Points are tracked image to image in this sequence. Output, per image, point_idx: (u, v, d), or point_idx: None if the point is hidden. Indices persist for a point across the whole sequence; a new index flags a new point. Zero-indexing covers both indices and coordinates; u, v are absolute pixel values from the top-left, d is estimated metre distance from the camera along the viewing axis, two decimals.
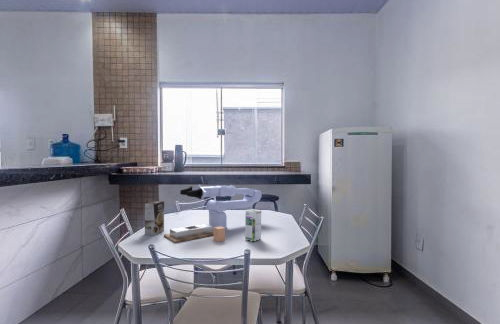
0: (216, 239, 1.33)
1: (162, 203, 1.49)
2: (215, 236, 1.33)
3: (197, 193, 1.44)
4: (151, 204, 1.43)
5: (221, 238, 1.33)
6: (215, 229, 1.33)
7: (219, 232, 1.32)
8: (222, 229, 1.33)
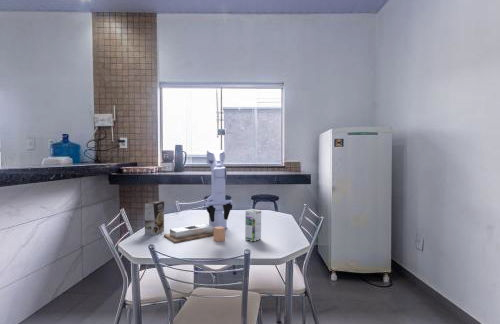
0: (216, 239, 1.33)
1: (162, 203, 1.49)
2: (215, 236, 1.33)
3: None
4: (151, 204, 1.43)
5: (221, 238, 1.33)
6: (215, 229, 1.33)
7: (219, 232, 1.32)
8: (222, 229, 1.33)
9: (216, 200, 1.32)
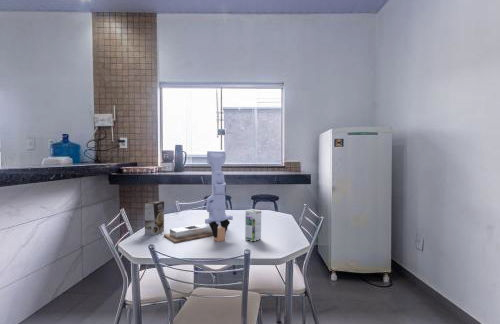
0: (216, 239, 1.33)
1: (162, 203, 1.49)
2: None
3: None
4: (151, 204, 1.43)
5: (221, 238, 1.33)
6: None
7: (219, 232, 1.32)
8: (222, 229, 1.33)
9: (216, 216, 1.32)
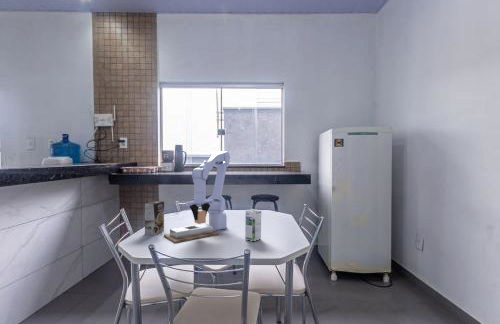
0: (197, 221, 1.38)
1: (162, 203, 1.49)
2: None
3: None
4: (151, 204, 1.43)
5: (202, 220, 1.38)
6: None
7: (200, 215, 1.37)
8: (203, 212, 1.38)
9: (196, 199, 1.37)
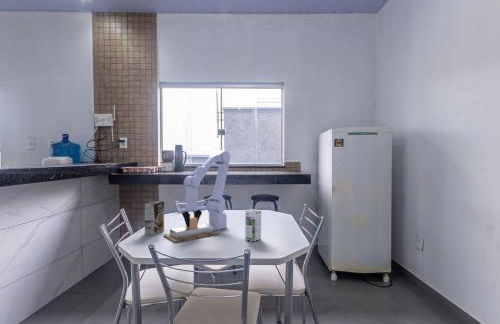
0: (189, 228, 1.40)
1: (162, 203, 1.49)
2: None
3: None
4: (151, 204, 1.43)
5: (194, 227, 1.40)
6: None
7: (191, 222, 1.39)
8: (194, 219, 1.40)
9: (188, 207, 1.39)
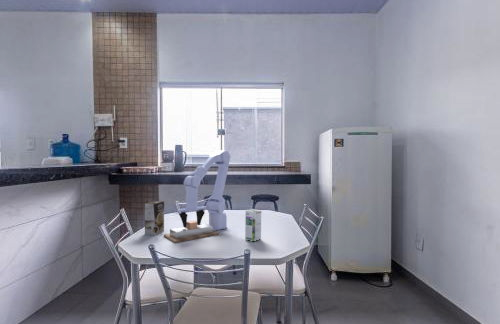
0: None
1: (162, 203, 1.49)
2: None
3: None
4: (151, 204, 1.43)
5: None
6: (188, 223, 1.40)
7: (191, 226, 1.39)
8: (194, 223, 1.40)
9: (188, 207, 1.39)
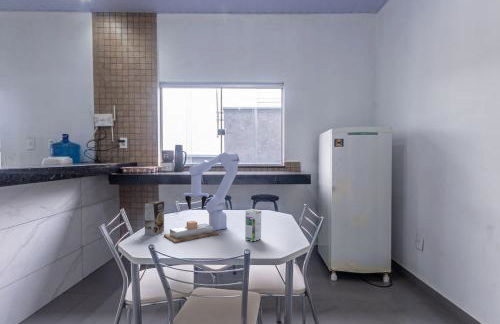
0: None
1: (162, 203, 1.49)
2: None
3: None
4: (151, 204, 1.43)
5: None
6: (188, 223, 1.40)
7: (191, 226, 1.39)
8: (194, 223, 1.40)
9: (191, 192, 1.63)
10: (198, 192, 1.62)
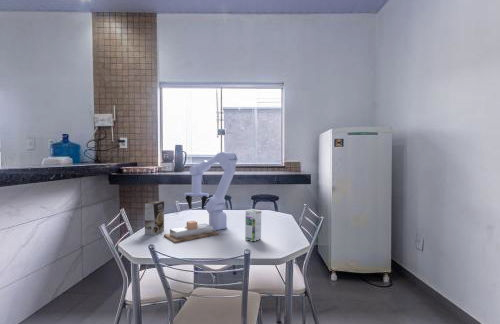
0: None
1: (162, 203, 1.49)
2: None
3: None
4: (151, 204, 1.43)
5: None
6: (188, 223, 1.40)
7: (191, 226, 1.39)
8: (194, 223, 1.40)
9: None
10: (198, 192, 1.63)
